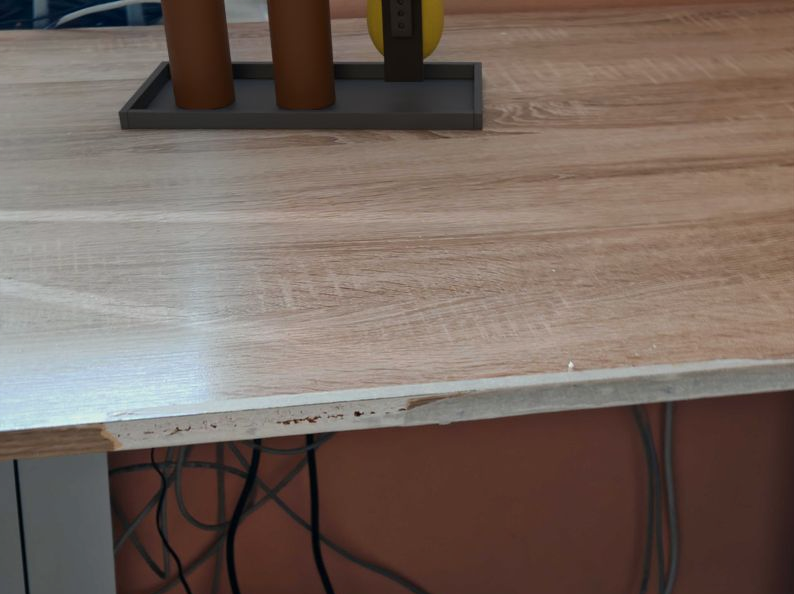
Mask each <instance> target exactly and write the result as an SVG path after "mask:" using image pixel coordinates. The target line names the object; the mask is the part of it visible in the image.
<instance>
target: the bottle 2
mask: <svg viewBox="0 0 794 594" xmlns="http://www.w3.org/2000/svg"><path fill="white" fill-rule="evenodd" d="M330 5H331V4H330V0H266V7H267V8H266V9H267V19H268V30H269V41H270V52H271V62H272V63H273V73H274V84H275V95H276V103H277V104H278V105H279V106H280V107H282V108H286V109H291V110H315V109H320V108H324V107H327V106H330V105H332V104H333V103H334V102H335V100H336V96H335V80H334V64H333V62H334V52H333V51H334V50H333V37H332V35H333V34H332V20H331V6H330Z"/></svg>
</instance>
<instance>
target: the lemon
mask: <svg viewBox="0 0 794 594" xmlns="http://www.w3.org/2000/svg"><path fill="white" fill-rule="evenodd" d="M365 12H366V17H365V19H366V26H367V31H368V34H369V37H370V40H371V42H372V44H373V46H374V47H375V49H376V50H377V51H378V53H379V54H380V55H381V56H382V57H384V50H383V27H382V4H381V0H366V10H365ZM444 26H445V8H444V2H443V0H422V31H423V61H424V60H426V59H427V58H428V57H430V56H431V55H432V54H433V53H434V52H435V50H436V49H437V47H438V45H439V43H440V41H441V39H442V37H443V32H444Z"/></svg>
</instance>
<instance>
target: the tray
mask: <svg viewBox="0 0 794 594" xmlns="http://www.w3.org/2000/svg"><path fill="white" fill-rule="evenodd" d="M231 64H232V72H233V81H234V90H235V101H234V102H233V103H232V104H230V105H228V106H225V107H222V108H217V109H211V110H189V109H184V108H181V107H178V106H177V105H176V104H175V98H174V91H173V84H172V77H171V70H170V63H169V60H168V61H167V60H165V61H164V60H163V61H161V62H160V63H159V64H158V65H157V67H156V68H155V69H154V70H153V71H152V73H150V75H149V76H148V77H147V78H146V80H144V82H143V83H142V84H141V85H140V86H139V87H138V89H137V90H135V92H134V93H133V94H132V95H131V97H130V98H129V99H128V101H126V102H125V104H124V105H123V106H122V107H121V109H119V111H118V112H117V113H118V120H119V124H120V129H121V130H162V131H163V130H167V131H168V130H172V131H173V130H179V131H180V130H183V131H184V130H185V131H186V130H188V131H189V130H191V131H195V130H196V131H197V130H199V131H202V130H203V131H204V130H206V131H207V130H208V131H213V130H214V131H215V130H216V131H220V130H221V131H224V130H225V131H227V130H228V131H231V130H232V131H233V130H234V131H246V130H247V131H248V130H249V131H253V130H254V131H279V130H280V131H483V117H484V115H483V114H484V113H483V111H484V110H483V62H482V61H423V71H424V80H423V82H385V72H384V61H333V64H334V80H335V96H336V100H335V102H334V103H333V104H332V105H330V106H327V107H324V108H320V109H315V110H291V109H286V108H282V107H280V106H279V105H278V104H277V103H276V95H275V84H274V73H273V63H272V61H231Z"/></svg>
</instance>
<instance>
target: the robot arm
mask: <svg viewBox="0 0 794 594" xmlns="http://www.w3.org/2000/svg"><path fill="white" fill-rule="evenodd" d="M381 4H382V27H383V50H384V56H383V62H384V72H385V82H423V80H424V71H423V62H424V60H423V31H422V0H381Z"/></svg>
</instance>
